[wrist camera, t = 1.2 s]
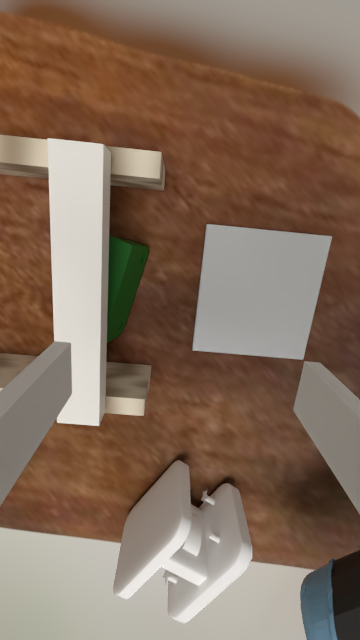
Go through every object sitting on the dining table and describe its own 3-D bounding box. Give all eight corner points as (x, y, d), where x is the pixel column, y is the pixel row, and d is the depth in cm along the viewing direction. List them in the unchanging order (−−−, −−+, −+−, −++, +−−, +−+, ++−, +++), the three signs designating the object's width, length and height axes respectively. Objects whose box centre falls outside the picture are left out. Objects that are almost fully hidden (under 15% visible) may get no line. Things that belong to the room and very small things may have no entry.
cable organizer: (183, 446, 42) (185, 524, 31) (239, 480, 44) (260, 565, 33) (125, 511, 46) (108, 602, 35) (180, 540, 48) (181, 635, 36)
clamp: (113, 245, 38) (86, 208, 29) (154, 262, 37) (140, 229, 28) (71, 330, 37) (29, 317, 28) (113, 349, 36) (85, 343, 27)
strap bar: (110, 152, 24) (103, 144, 21) (105, 410, 31) (99, 425, 28) (60, 147, 24) (47, 138, 21) (66, 407, 31) (56, 422, 28)
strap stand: (165, 170, 32) (161, 151, 24) (150, 379, 39) (143, 415, 31) (-65, 146, 31) (-145, 119, 23) (-36, 364, 38) (-89, 398, 30)
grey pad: (327, 236, 34) (332, 236, 33) (299, 356, 38) (303, 359, 37) (206, 224, 33) (206, 223, 32) (192, 347, 38) (192, 350, 37)
